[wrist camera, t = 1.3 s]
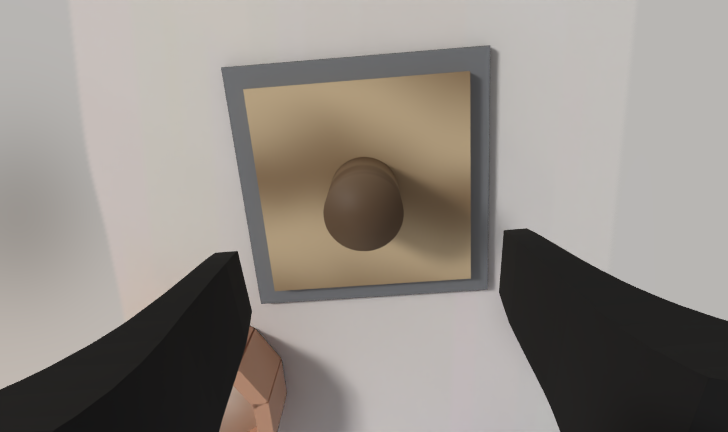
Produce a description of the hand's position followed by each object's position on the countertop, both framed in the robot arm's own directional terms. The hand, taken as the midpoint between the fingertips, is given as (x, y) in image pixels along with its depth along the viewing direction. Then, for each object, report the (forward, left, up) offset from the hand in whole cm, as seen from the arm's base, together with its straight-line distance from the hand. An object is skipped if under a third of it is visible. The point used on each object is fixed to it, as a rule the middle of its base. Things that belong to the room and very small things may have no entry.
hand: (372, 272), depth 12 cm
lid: (0, 0, -10) cm, 10 cm away
